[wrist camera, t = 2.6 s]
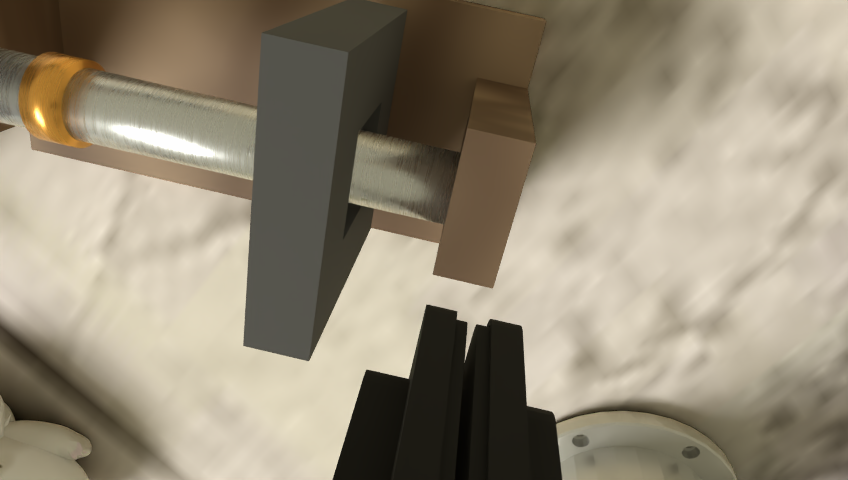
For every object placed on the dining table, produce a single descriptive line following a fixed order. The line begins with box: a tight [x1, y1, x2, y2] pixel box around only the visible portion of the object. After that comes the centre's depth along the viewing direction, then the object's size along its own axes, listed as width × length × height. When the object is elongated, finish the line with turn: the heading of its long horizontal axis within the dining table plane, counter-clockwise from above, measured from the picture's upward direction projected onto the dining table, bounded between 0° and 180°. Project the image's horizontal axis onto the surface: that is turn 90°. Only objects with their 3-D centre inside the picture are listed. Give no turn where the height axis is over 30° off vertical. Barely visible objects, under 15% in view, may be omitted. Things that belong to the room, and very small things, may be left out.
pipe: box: [0, 48, 461, 224], centre depth 19 cm, size 18×3×3 cm, turn 79°
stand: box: [0, 0, 546, 288], centre depth 21 cm, size 21×10×8 cm, turn 79°
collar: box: [243, 0, 407, 361], centre depth 19 cm, size 2×9×9 cm, turn 169°
